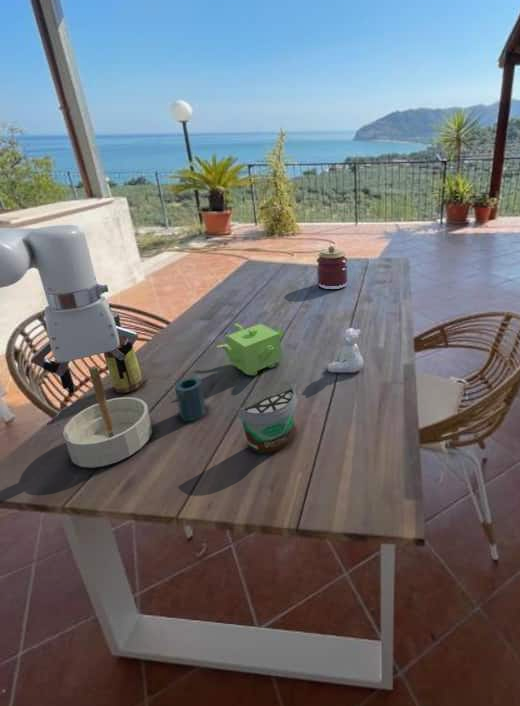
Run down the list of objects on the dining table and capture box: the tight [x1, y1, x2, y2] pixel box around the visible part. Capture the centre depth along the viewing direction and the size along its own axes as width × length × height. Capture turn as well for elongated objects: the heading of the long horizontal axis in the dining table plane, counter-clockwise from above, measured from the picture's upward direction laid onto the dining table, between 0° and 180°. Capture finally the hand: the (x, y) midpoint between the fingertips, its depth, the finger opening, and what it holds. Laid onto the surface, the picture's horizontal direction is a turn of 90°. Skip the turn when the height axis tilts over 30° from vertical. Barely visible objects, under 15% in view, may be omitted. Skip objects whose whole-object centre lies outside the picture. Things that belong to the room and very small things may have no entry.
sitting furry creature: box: [327, 327, 365, 374], centre depth 104 cm, size 10×9×12 cm
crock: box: [174, 376, 207, 423], centre depth 86 cm, size 5×5×8 cm
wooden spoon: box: [88, 365, 114, 438], centre depth 76 cm, size 1×3×17 cm, turn 36°
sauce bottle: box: [103, 312, 143, 394], centre depth 94 cm, size 7×6×20 cm
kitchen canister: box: [316, 245, 348, 286], centre depth 166 cm, size 13×13×18 cm
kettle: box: [216, 322, 286, 377], centre depth 105 cm, size 15×14×11 cm
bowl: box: [62, 396, 153, 469], centre depth 78 cm, size 14×14×6 cm
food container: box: [236, 384, 298, 454], centre depth 77 cm, size 12×6×10 cm, turn 129°
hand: (97, 382), depth 74 cm, fingers open, 7 cm apart
